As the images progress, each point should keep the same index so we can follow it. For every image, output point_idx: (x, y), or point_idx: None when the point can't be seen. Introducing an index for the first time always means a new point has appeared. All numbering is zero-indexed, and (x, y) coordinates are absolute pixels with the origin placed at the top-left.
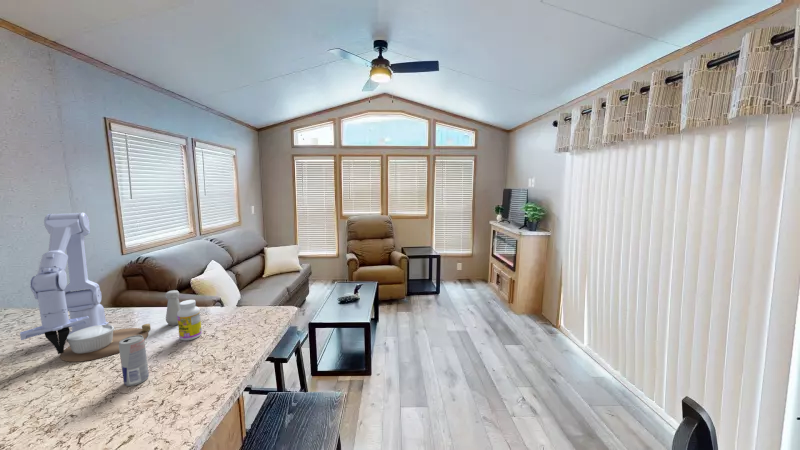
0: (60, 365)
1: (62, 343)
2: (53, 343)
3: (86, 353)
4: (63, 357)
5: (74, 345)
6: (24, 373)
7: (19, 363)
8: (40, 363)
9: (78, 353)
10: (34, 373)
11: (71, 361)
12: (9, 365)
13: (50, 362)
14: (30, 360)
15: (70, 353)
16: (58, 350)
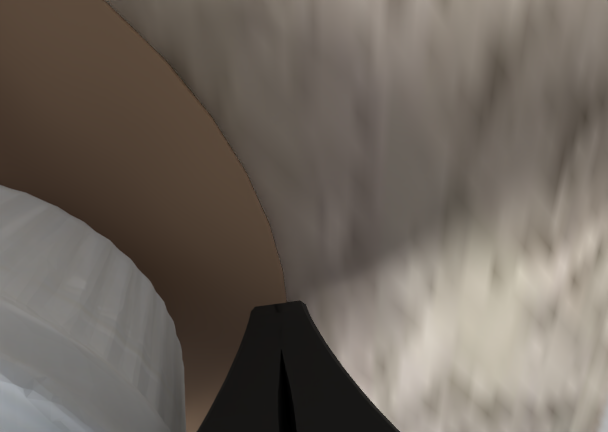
0: (278, 48)
1: (243, 402)
2: (377, 424)
3: (15, 184)
4: (257, 251)
5: (84, 304)
6: (572, 124)
7: (543, 394)
8: (434, 282)
9: None
10: (513, 28)
11: (164, 59)
12: (593, 402)
13: (364, 240)
14: (481, 401)
15: (201, 317)
16: (300, 326)
